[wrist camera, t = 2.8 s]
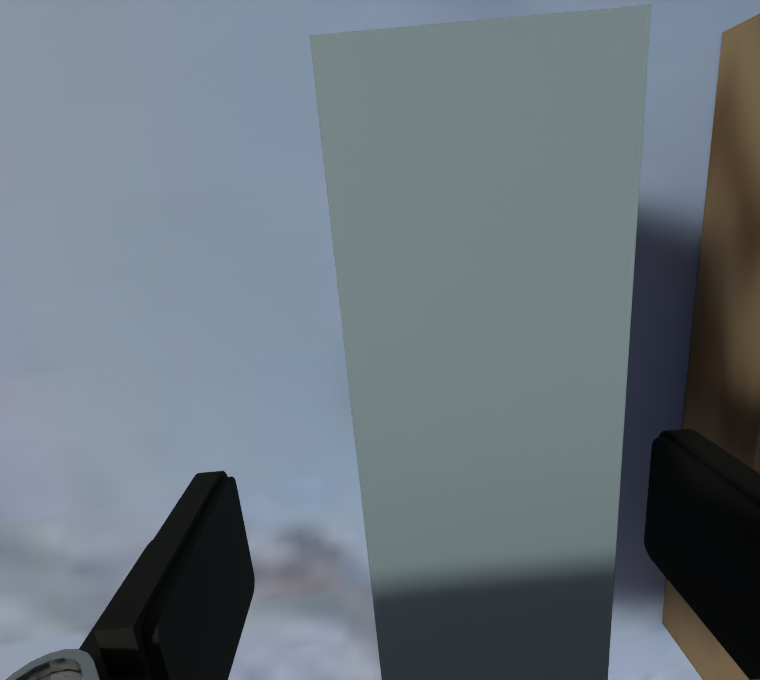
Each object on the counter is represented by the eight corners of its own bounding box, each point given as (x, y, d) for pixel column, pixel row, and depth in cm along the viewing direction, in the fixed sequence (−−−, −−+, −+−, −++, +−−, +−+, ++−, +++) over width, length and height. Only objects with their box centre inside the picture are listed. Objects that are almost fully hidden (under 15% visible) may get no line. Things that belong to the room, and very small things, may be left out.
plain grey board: (352, 165, 16) (309, 35, 4) (440, 157, 16) (651, 5, 4) (390, 557, 20) (421, 1035, 8) (459, 550, 20) (585, 1020, 8)
